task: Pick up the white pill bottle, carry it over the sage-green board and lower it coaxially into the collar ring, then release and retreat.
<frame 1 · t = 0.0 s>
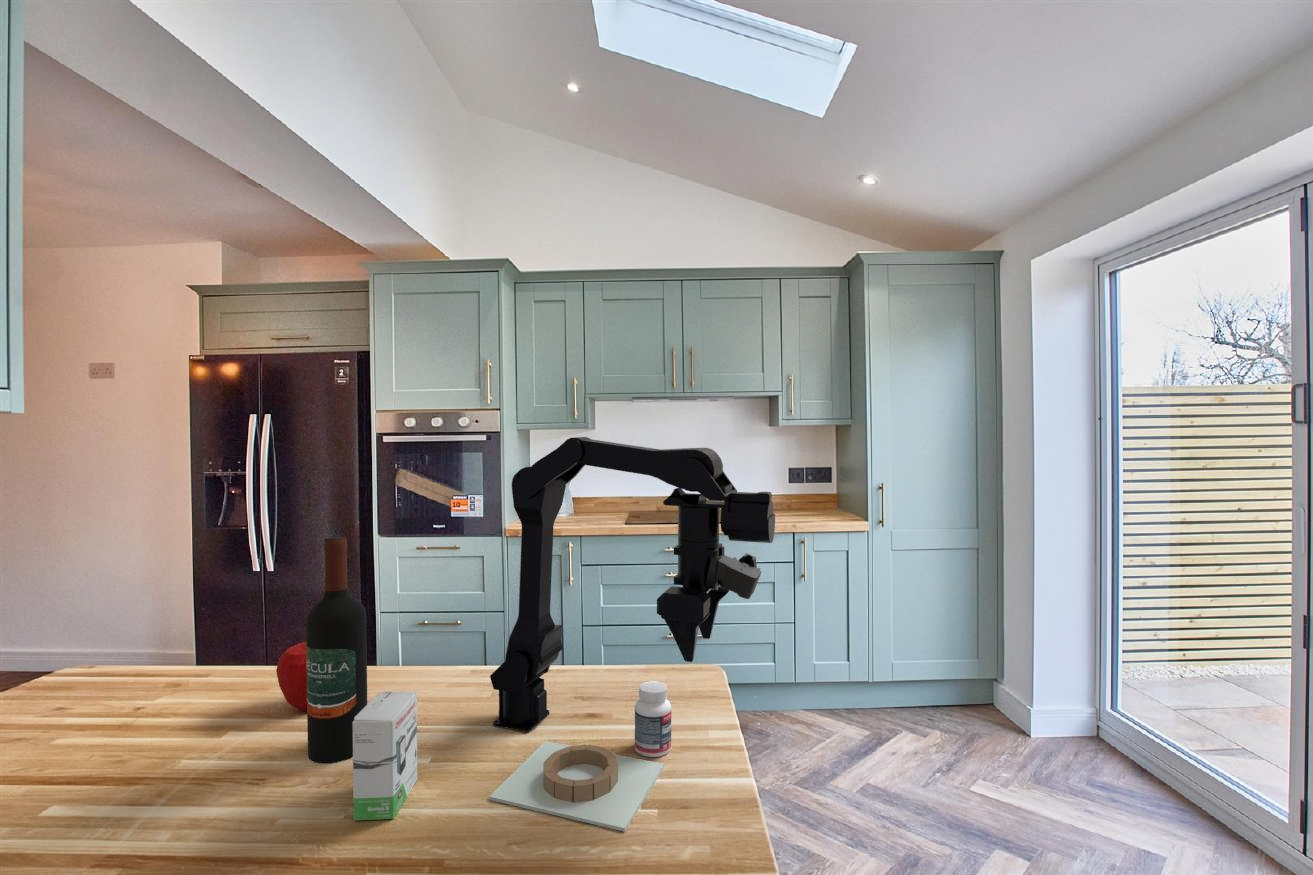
hand: (698, 649, 87), 15 cm above the table, fingers open, 9 cm apart
collar board: (580, 782, 80), on the table
apple: (311, 706, 102), on the table
wine bottle: (338, 750, 88), on the table
ink box: (387, 800, 77), on the table
pill bottle: (653, 749, 89), on the table
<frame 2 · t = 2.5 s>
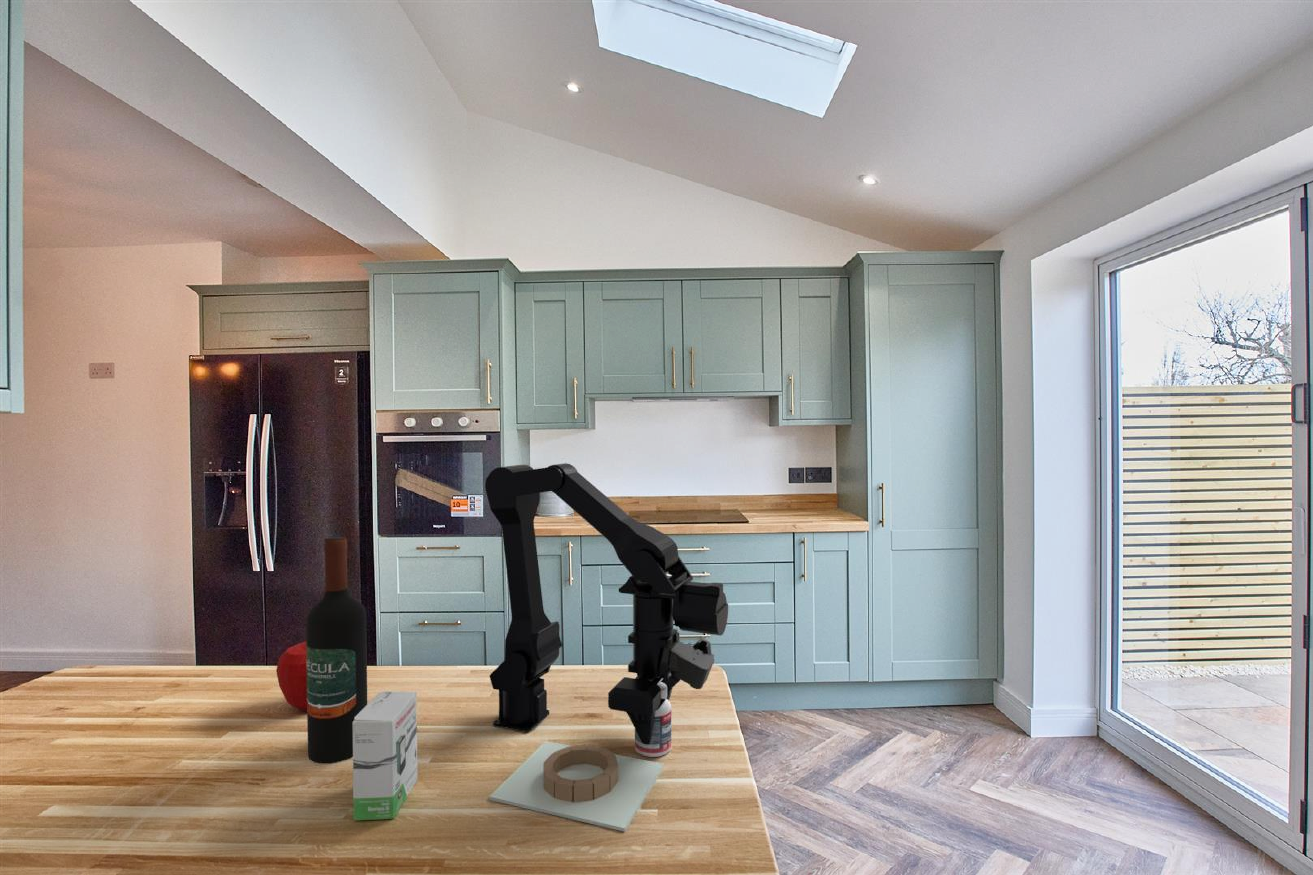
hand: (652, 734, 89), 2 cm above the table, fingers closed on pill bottle, 5 cm apart
pill bottle: (653, 749, 89), on the table, touching gripper
everything else where it was.
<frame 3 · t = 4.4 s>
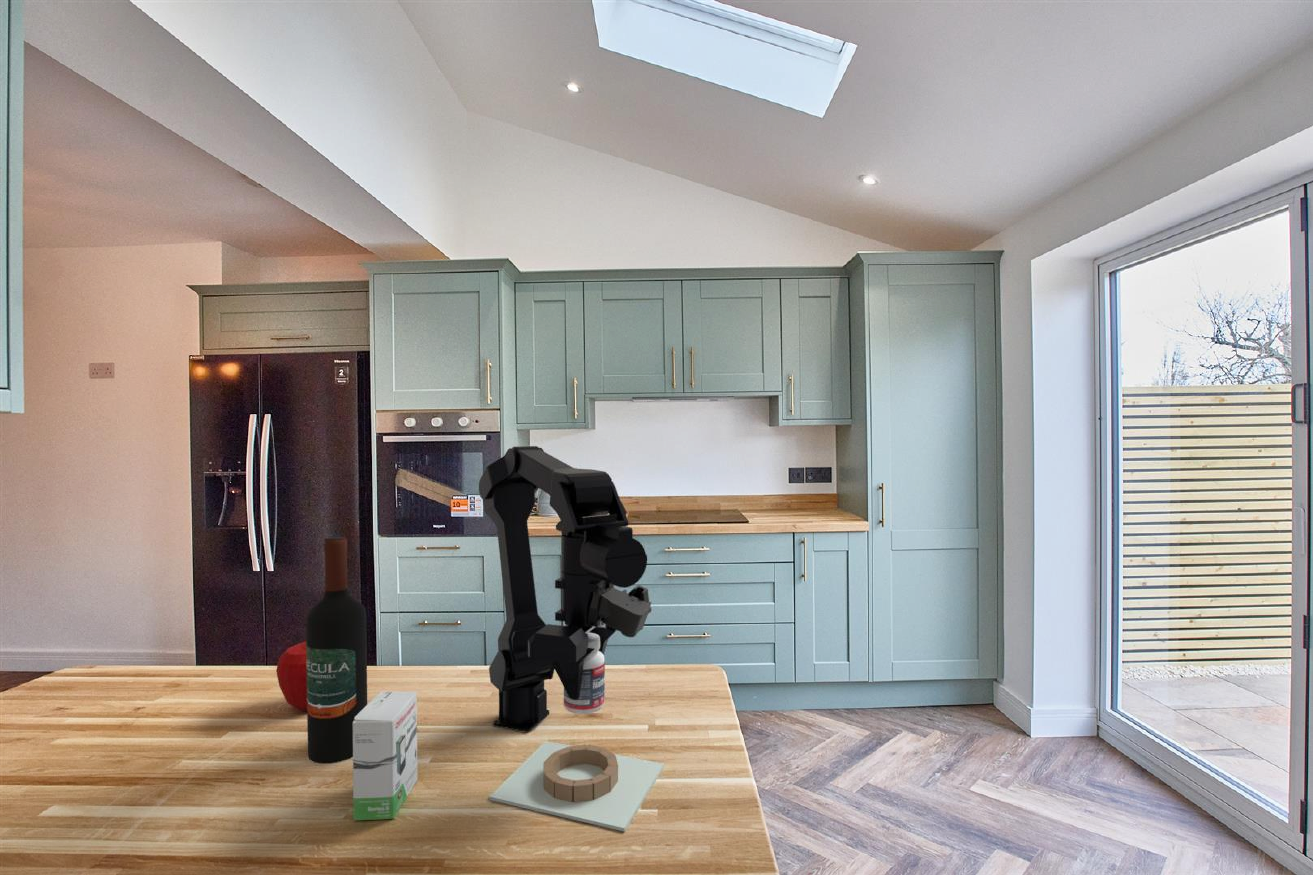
hand: (583, 689, 80), 12 cm above the table, fingers closed on pill bottle, 5 cm apart
pill bottle: (584, 707, 80), point 10 cm above the table, touching gripper
everything else where it was.
when the fingers open (4 cm above the table, at t = 6.7 s): pill bottle drops 1 cm, resting on collar board.
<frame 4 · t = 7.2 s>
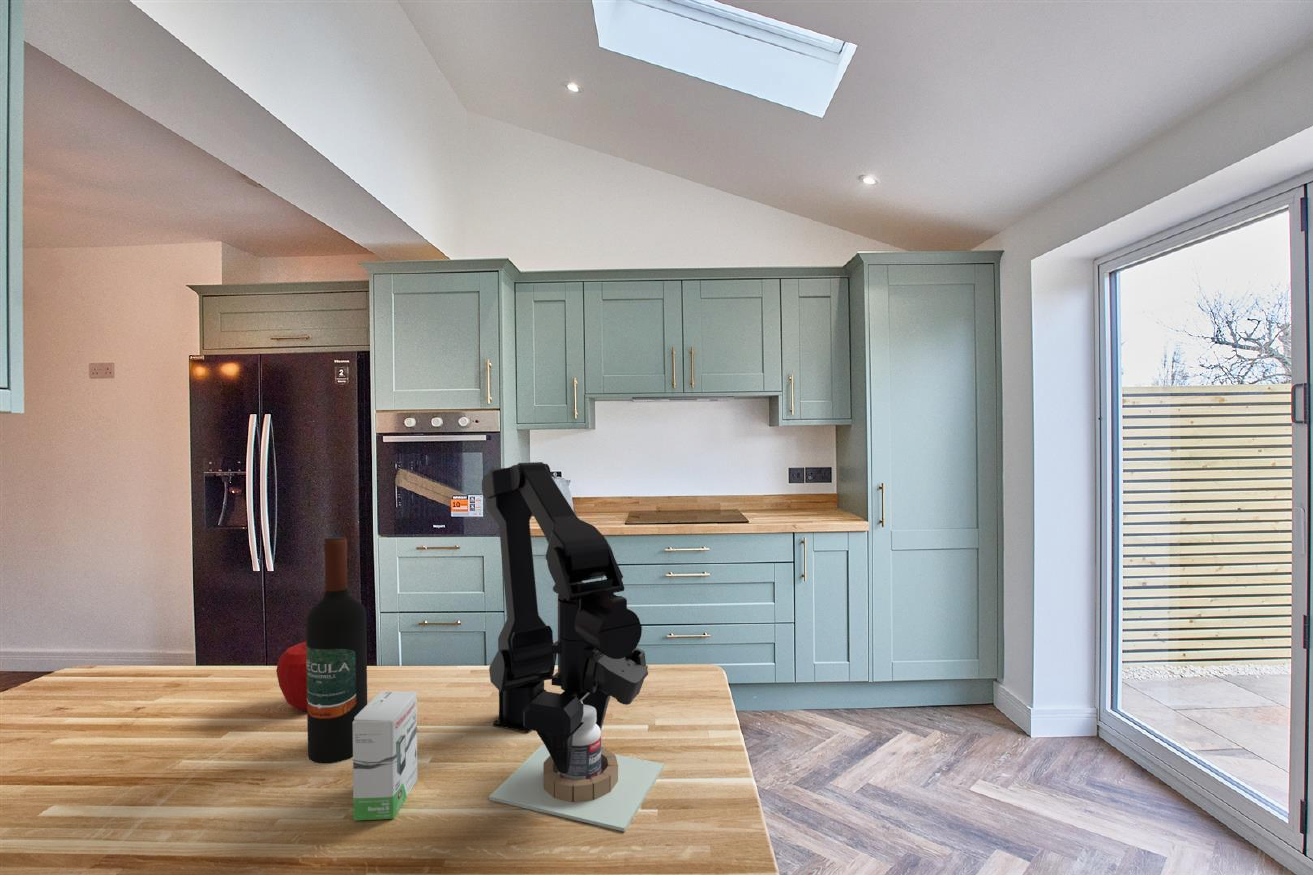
hand: (580, 753, 80), 4 cm above the table, fingers open, 9 cm apart
pill bottle: (580, 780, 80), resting on collar board
everything else where it was.
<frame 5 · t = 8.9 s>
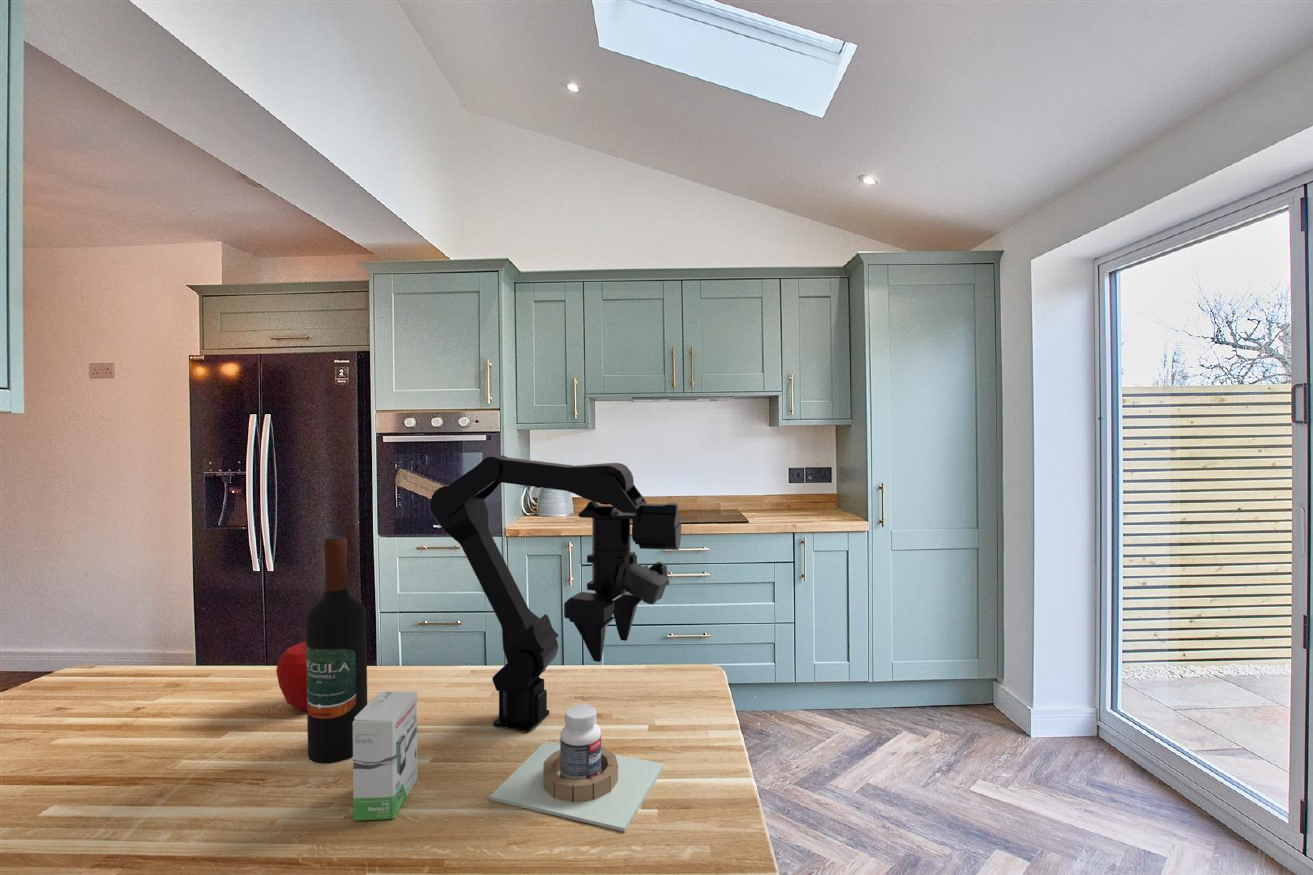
hand: (611, 650, 94), 12 cm above the table, fingers open, 9 cm apart
nothing on the table moved.
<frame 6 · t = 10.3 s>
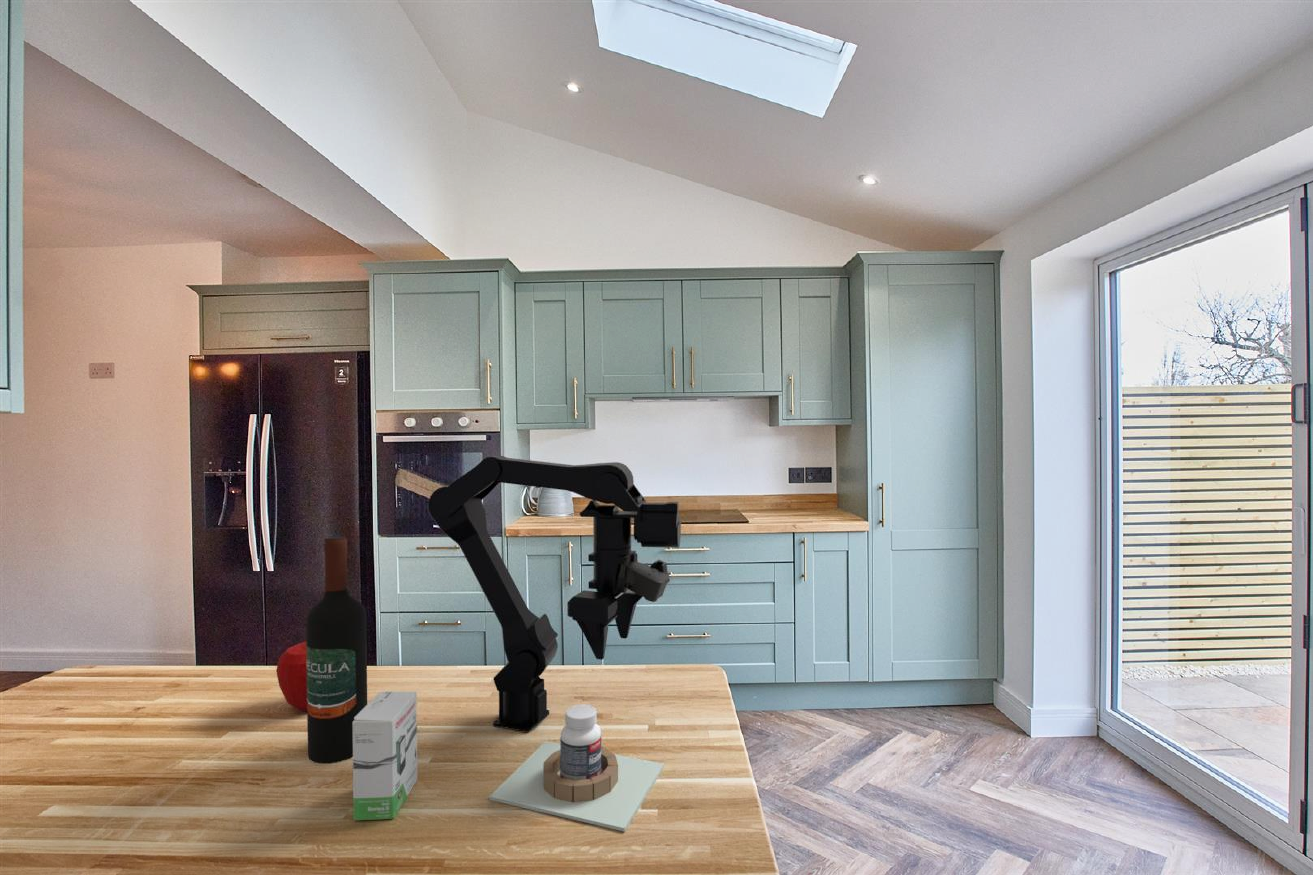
hand: (612, 648, 95), 12 cm above the table, fingers open, 9 cm apart
nothing on the table moved.
at the end: pill bottle 0.0 cm off-centre on the collar board, point 0.2 cm above the collar board's base; pill bottle tilted 0°; the gripper is holding nothing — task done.
